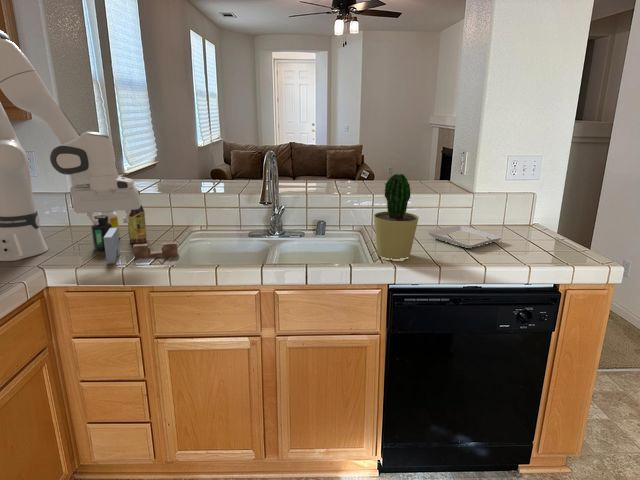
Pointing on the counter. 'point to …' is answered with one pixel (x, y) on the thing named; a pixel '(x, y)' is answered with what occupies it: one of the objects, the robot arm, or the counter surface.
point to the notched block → (144, 251)
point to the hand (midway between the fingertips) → (111, 223)
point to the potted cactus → (395, 221)
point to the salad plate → (444, 231)
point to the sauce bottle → (137, 225)
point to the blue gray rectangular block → (111, 245)
